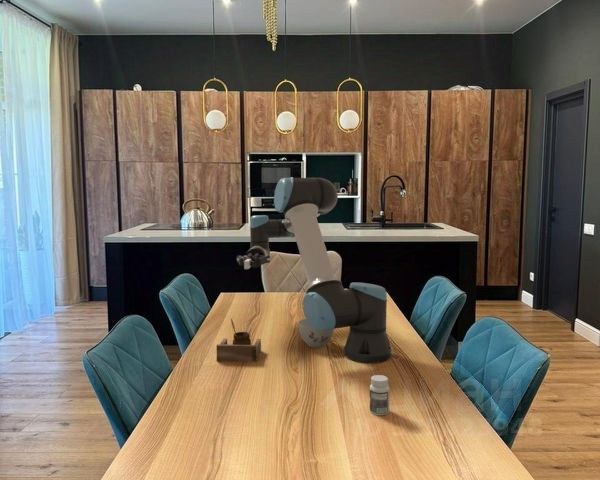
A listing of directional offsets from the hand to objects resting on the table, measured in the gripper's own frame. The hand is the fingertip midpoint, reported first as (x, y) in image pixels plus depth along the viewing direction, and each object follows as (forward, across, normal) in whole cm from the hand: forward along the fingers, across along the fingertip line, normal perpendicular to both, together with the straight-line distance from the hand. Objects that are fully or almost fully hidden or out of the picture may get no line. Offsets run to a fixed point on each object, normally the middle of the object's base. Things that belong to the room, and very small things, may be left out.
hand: (246, 265), depth 177 cm
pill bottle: (+54, -41, -28) cm, 73 cm away
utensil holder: (+15, 0, -27) cm, 31 cm away
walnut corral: (+15, 0, -27) cm, 31 cm away
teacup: (+2, -24, -27) cm, 37 cm away
